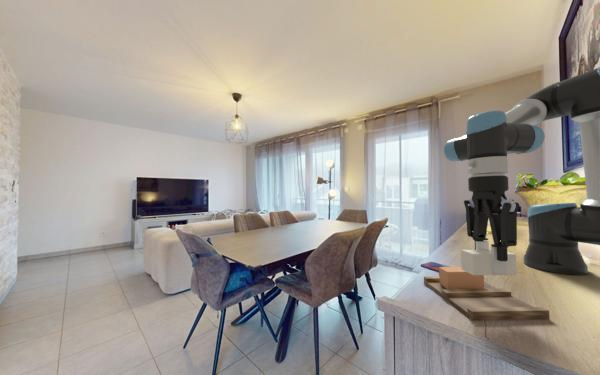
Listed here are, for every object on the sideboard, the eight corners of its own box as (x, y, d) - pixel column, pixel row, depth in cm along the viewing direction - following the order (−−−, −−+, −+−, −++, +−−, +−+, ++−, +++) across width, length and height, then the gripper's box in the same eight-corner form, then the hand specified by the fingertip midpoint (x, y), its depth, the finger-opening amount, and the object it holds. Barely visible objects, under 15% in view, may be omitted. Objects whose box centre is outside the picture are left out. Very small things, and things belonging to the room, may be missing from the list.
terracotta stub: (473, 283, 66) (472, 266, 66) (484, 289, 62) (483, 271, 62) (439, 283, 66) (439, 267, 66) (448, 289, 62) (447, 272, 62)
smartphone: (431, 264, 87) (431, 261, 87) (474, 276, 74) (474, 273, 74) (419, 267, 84) (419, 264, 84) (461, 280, 71) (461, 277, 71)
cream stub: (501, 269, 56) (500, 249, 56) (516, 275, 52) (515, 254, 52) (461, 269, 56) (460, 249, 56) (473, 275, 52) (472, 254, 52)
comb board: (478, 281, 69) (478, 275, 69) (549, 319, 49) (549, 310, 49) (424, 282, 69) (423, 276, 69) (472, 320, 49) (472, 311, 49)
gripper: (449, 178, 63) (451, 259, 62) (503, 173, 46) (507, 285, 45) (475, 177, 63) (478, 259, 62) (539, 172, 45) (544, 284, 45)
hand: (490, 269), depth 54 cm, fingers closed on cream stub, 4 cm apart
